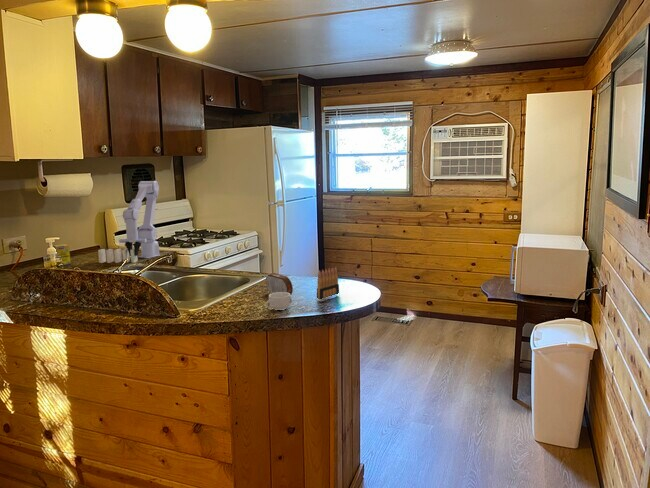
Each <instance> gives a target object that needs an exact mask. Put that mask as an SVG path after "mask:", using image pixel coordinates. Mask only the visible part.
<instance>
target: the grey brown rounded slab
mask: <svg viewBox="0 0 650 488" xmlns="http://www.w3.org/2000/svg"><path fill="white" fill-rule="evenodd" d="M265 286H266V289H267V291H268V292H269V291H271V292H275V293H276V292H287V293H290V295H291V296H292V294H293V292H294V291H293V290H294V289H293V284H292V281H291V280H290V278H289V277H288V276H286V275H284V274H280V273H276V272H272V273H270V274H267V276H266V277H265Z"/></svg>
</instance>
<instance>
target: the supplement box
mask: <svg viewBox="0 0 650 488" xmlns="http://www.w3.org/2000/svg"><path fill="white" fill-rule="evenodd" d="M53 247H54V248H55V249H56V252H57V254H58V255H60V256H61V259H62V264H63V266H62V267H65V266H66V267H67V266H71V265H72V264H71V255H70V254H71V253H70V245H68V244H64V243H63V244H56V245H53V246H52V248H53Z"/></svg>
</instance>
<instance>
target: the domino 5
mask: <svg viewBox="0 0 650 488" xmlns="http://www.w3.org/2000/svg"><path fill="white" fill-rule="evenodd" d="M130 252H131V256H130V262H131V263H137V262H138V260H139V259H138V258H139V257H138V256H135V249H134V248H132V250H130Z"/></svg>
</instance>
